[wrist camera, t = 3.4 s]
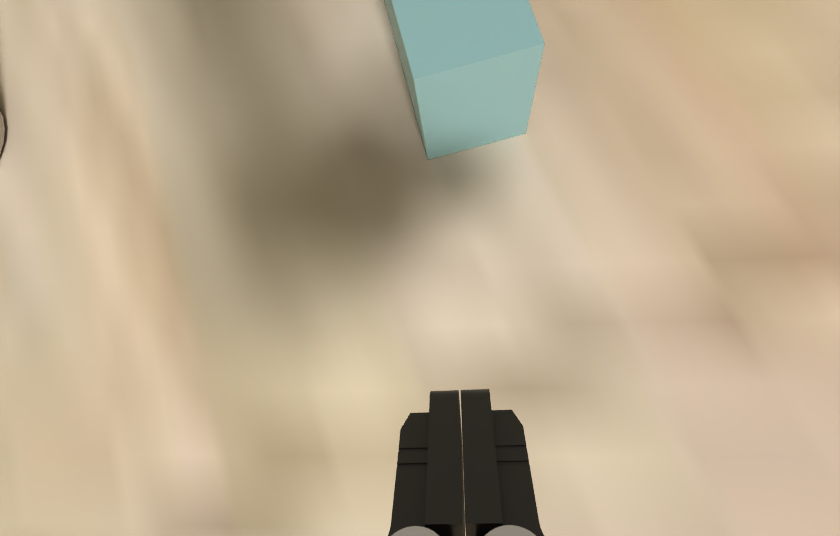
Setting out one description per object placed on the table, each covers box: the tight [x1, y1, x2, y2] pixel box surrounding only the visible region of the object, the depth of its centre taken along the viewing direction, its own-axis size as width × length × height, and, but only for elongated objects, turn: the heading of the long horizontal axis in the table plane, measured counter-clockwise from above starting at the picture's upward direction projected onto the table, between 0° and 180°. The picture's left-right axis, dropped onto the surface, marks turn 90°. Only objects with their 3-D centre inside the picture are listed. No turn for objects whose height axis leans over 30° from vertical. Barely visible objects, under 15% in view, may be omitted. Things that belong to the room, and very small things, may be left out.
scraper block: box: [384, 0, 544, 160], centre depth 28 cm, size 6×14×8 cm, turn 14°
